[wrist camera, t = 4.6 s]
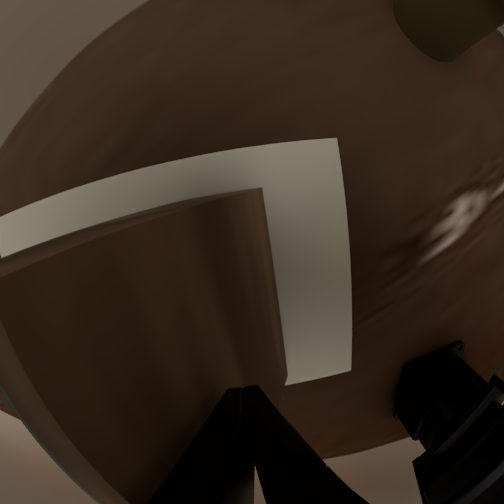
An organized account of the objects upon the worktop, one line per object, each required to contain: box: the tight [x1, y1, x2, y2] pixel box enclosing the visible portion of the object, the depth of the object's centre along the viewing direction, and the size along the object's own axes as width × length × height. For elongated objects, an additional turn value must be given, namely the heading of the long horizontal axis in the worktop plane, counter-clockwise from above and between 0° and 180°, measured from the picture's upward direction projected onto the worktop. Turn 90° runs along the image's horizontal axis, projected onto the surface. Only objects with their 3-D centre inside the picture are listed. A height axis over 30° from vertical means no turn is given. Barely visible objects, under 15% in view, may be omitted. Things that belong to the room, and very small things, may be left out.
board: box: [0, 138, 352, 385], centre depth 15 cm, size 22×14×1 cm, turn 99°
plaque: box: [0, 187, 288, 504], centre depth 9 cm, size 4×10×11 cm, turn 9°
